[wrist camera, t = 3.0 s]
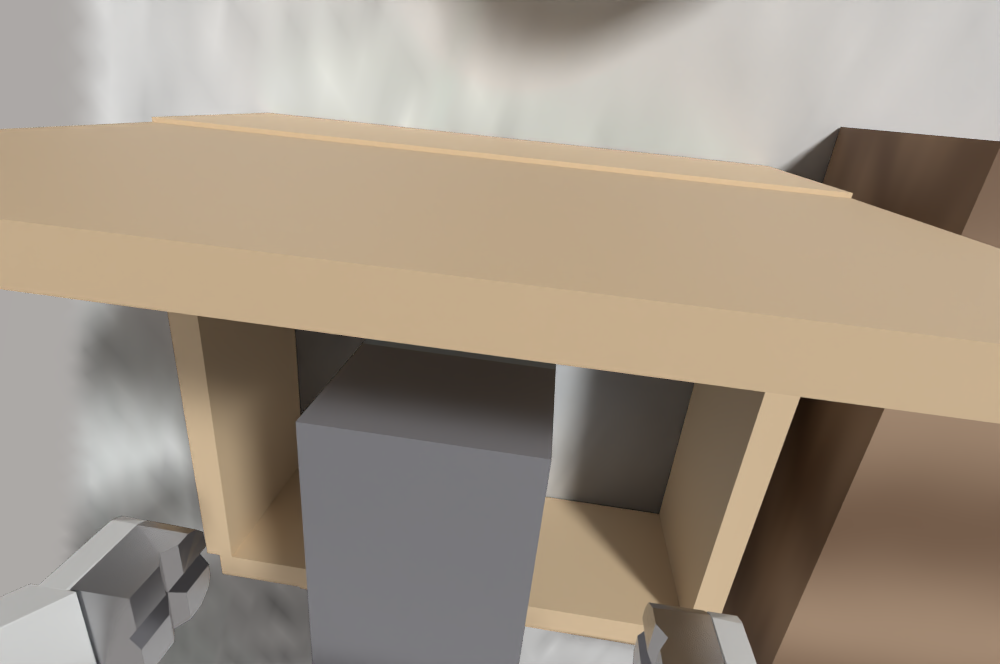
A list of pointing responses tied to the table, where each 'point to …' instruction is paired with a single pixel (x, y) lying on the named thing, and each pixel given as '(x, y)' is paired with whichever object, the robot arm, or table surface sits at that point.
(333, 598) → the blue-grey rectangular block
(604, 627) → the light wooden open box
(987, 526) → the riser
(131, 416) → the table surface
